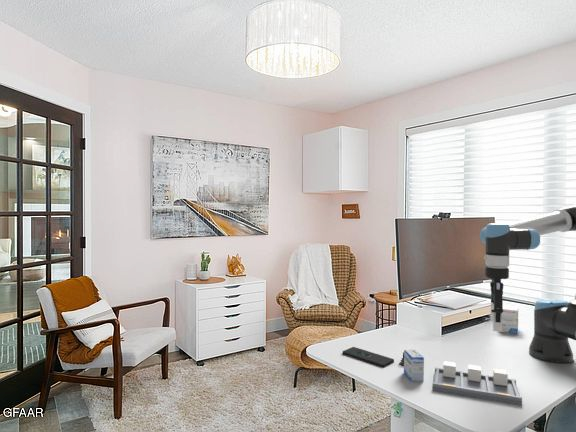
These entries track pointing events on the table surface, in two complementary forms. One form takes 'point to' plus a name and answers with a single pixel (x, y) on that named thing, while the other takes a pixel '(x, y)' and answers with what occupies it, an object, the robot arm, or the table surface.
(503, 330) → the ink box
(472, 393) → the gray divided tray
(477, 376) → the white cube
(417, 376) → the medicine box
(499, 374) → the white cube
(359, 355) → the smart home device
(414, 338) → the table surface
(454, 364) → the white cube
